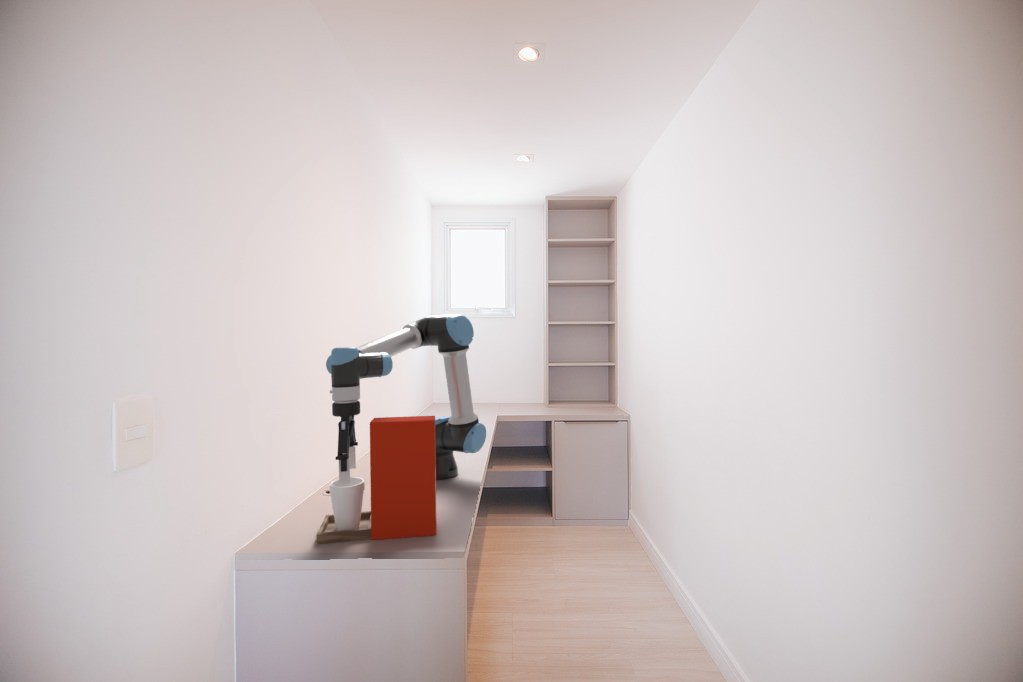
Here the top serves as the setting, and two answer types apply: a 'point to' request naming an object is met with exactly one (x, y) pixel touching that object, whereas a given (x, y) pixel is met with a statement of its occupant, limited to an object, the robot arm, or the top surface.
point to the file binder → (403, 477)
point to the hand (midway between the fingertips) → (348, 475)
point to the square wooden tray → (330, 534)
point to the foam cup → (347, 503)
